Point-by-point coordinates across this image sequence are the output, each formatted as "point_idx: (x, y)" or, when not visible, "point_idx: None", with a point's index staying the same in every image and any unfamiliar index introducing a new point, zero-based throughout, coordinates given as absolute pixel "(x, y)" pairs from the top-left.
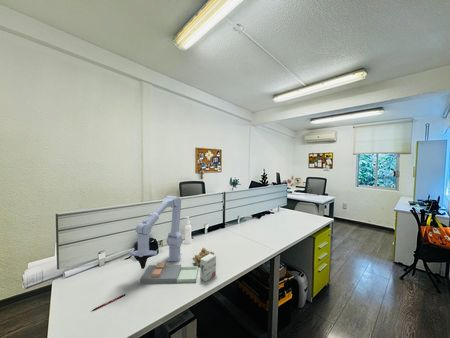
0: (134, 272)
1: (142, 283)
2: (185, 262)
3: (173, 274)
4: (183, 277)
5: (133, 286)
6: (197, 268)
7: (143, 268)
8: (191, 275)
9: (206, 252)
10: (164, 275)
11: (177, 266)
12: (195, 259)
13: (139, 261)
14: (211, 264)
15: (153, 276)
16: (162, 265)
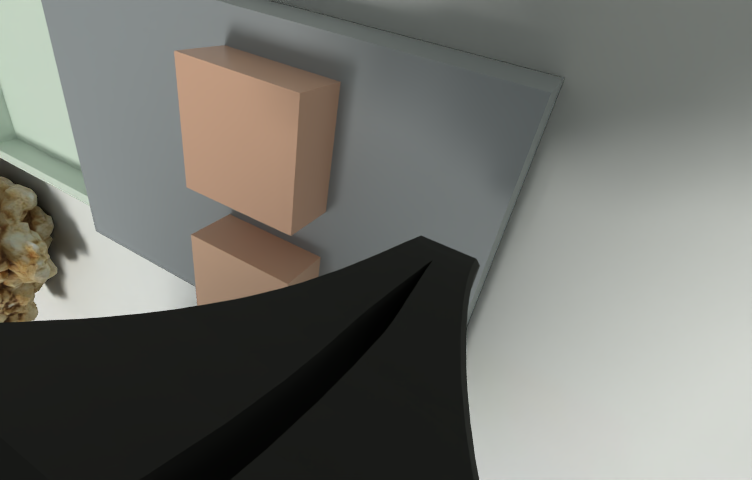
0: (658, 418)
1: (517, 66)
2: (137, 290)
3: (94, 62)
4: None
5: (705, 15)
6: None
7: (418, 238)
8: (13, 47)
9: None
10: None
11: (115, 217)
12: (8, 242)
13: (429, 460)
14: None
15: (298, 73)
16: (208, 272)
